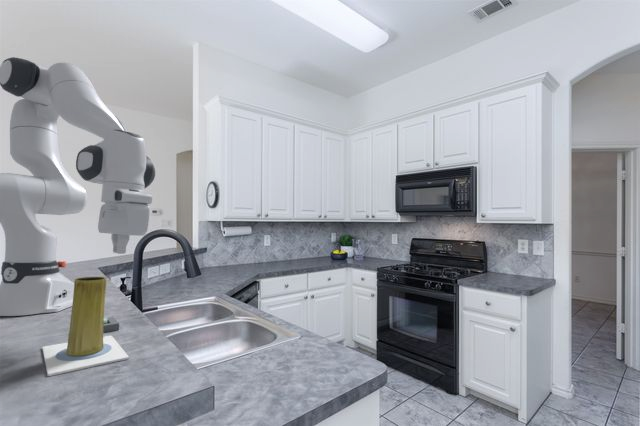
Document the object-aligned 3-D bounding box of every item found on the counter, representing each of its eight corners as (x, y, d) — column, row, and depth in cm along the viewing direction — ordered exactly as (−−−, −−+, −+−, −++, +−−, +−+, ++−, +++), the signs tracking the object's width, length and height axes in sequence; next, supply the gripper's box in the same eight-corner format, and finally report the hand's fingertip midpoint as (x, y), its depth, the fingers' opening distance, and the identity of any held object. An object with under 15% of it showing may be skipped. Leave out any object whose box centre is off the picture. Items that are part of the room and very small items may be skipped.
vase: (106, 344, 68) (111, 276, 69) (99, 354, 62) (105, 280, 63) (71, 347, 66) (77, 276, 66) (60, 358, 60) (67, 281, 61)
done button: (90, 324, 79) (90, 318, 79) (105, 322, 81) (106, 316, 81) (92, 327, 77) (93, 321, 77) (108, 325, 79) (108, 319, 79)
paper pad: (42, 348, 65) (42, 346, 65) (111, 337, 74) (111, 334, 74) (47, 376, 54) (47, 373, 54) (128, 359, 62) (129, 356, 62)
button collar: (79, 328, 79) (79, 321, 79) (112, 323, 84) (113, 317, 84) (83, 335, 74) (84, 328, 74) (118, 329, 79) (119, 323, 79)
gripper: (93, 196, 82) (88, 250, 82) (126, 193, 70) (122, 257, 69) (120, 199, 87) (116, 250, 86) (156, 196, 75) (152, 256, 74)
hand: (119, 253), depth 78 cm, fingers closed
